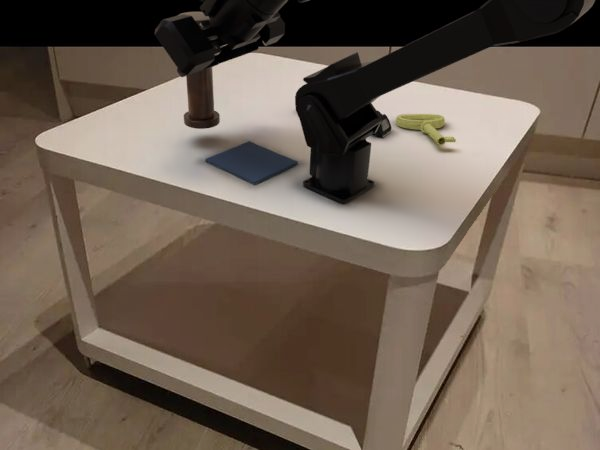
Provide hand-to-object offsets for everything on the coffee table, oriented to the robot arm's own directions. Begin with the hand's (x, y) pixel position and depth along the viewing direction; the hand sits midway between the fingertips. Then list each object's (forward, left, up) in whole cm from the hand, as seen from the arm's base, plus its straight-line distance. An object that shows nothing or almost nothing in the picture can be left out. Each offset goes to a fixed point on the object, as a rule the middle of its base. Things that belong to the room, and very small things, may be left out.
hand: (191, 69), depth 81 cm
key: (-22, -25, -10) cm, 35 cm away
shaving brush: (-1, 0, -7) cm, 7 cm away
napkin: (-11, 0, -10) cm, 15 cm away
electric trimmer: (-11, -19, -10) cm, 24 cm away
